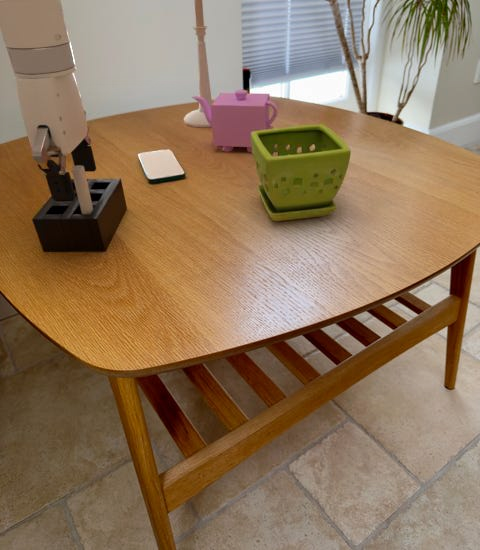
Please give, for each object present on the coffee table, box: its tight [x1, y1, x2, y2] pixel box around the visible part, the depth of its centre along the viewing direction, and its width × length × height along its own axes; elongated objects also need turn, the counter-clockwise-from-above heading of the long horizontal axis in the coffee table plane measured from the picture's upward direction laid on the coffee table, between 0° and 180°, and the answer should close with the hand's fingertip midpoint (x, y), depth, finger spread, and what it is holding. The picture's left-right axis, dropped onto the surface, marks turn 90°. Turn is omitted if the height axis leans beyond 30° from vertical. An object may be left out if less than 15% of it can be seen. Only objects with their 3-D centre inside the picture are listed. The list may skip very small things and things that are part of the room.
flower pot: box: [251, 123, 352, 222], centre depth 75 cm, size 14×14×13 cm
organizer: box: [31, 178, 128, 253], centre depth 73 cm, size 10×14×6 cm
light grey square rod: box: [70, 165, 93, 214], centre depth 67 cm, size 2×2×13 cm
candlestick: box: [183, 0, 213, 128], centre depth 112 cm, size 13×13×30 cm
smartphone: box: [137, 148, 186, 184], centre depth 95 cm, size 8×1×16 cm
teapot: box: [191, 89, 279, 153], centre depth 101 cm, size 20×10×12 cm, turn 80°
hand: (76, 184), depth 65 cm, fingers open, 9 cm apart
